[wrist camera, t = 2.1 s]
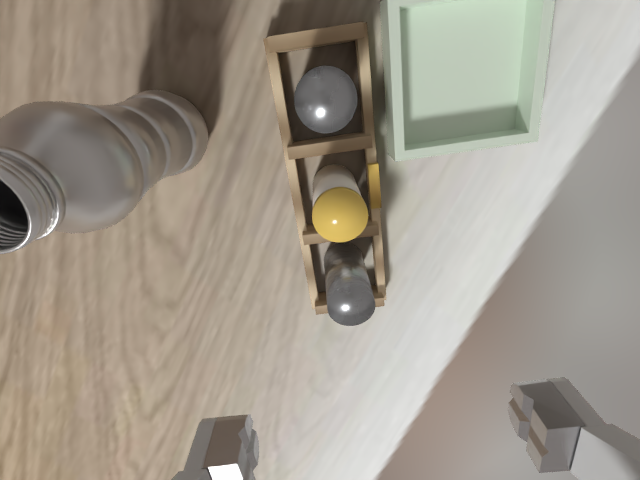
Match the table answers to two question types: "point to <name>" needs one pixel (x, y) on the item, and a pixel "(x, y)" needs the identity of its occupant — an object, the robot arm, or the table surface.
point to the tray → (463, 73)
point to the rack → (330, 146)
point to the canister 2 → (347, 285)
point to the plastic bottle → (90, 161)
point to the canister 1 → (325, 99)
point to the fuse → (338, 204)
